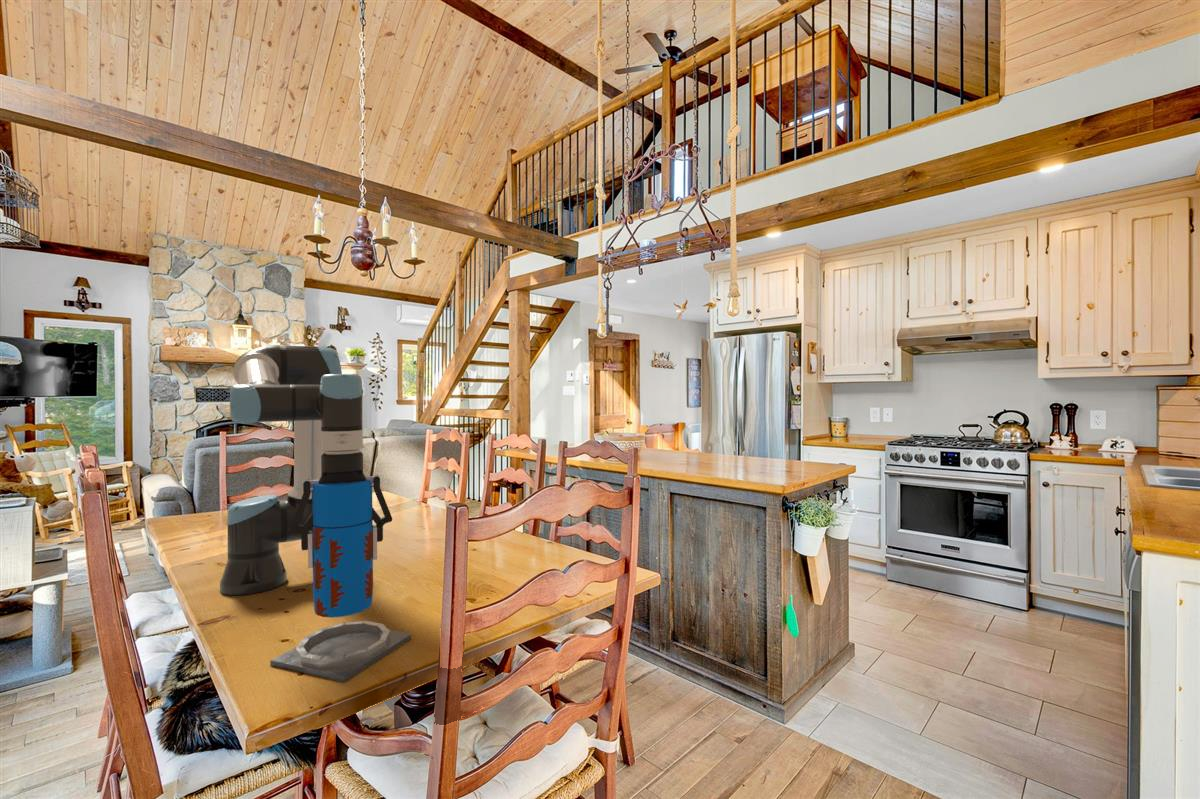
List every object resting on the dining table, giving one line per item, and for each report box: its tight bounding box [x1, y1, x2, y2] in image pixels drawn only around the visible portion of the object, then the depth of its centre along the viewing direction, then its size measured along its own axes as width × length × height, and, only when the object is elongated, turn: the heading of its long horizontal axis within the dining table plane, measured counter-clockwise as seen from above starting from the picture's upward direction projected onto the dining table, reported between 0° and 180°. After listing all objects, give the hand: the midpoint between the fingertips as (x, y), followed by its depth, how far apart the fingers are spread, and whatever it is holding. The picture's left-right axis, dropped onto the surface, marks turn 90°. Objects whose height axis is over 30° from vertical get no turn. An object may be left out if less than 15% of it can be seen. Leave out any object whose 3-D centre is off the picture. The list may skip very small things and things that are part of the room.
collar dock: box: [269, 620, 413, 683], centre depth 108 cm, size 18×18×2 cm
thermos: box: [312, 480, 374, 618], centre depth 108 cm, size 11×11×25 cm
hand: (343, 561), depth 108 cm, fingers closed on thermos, 11 cm apart
